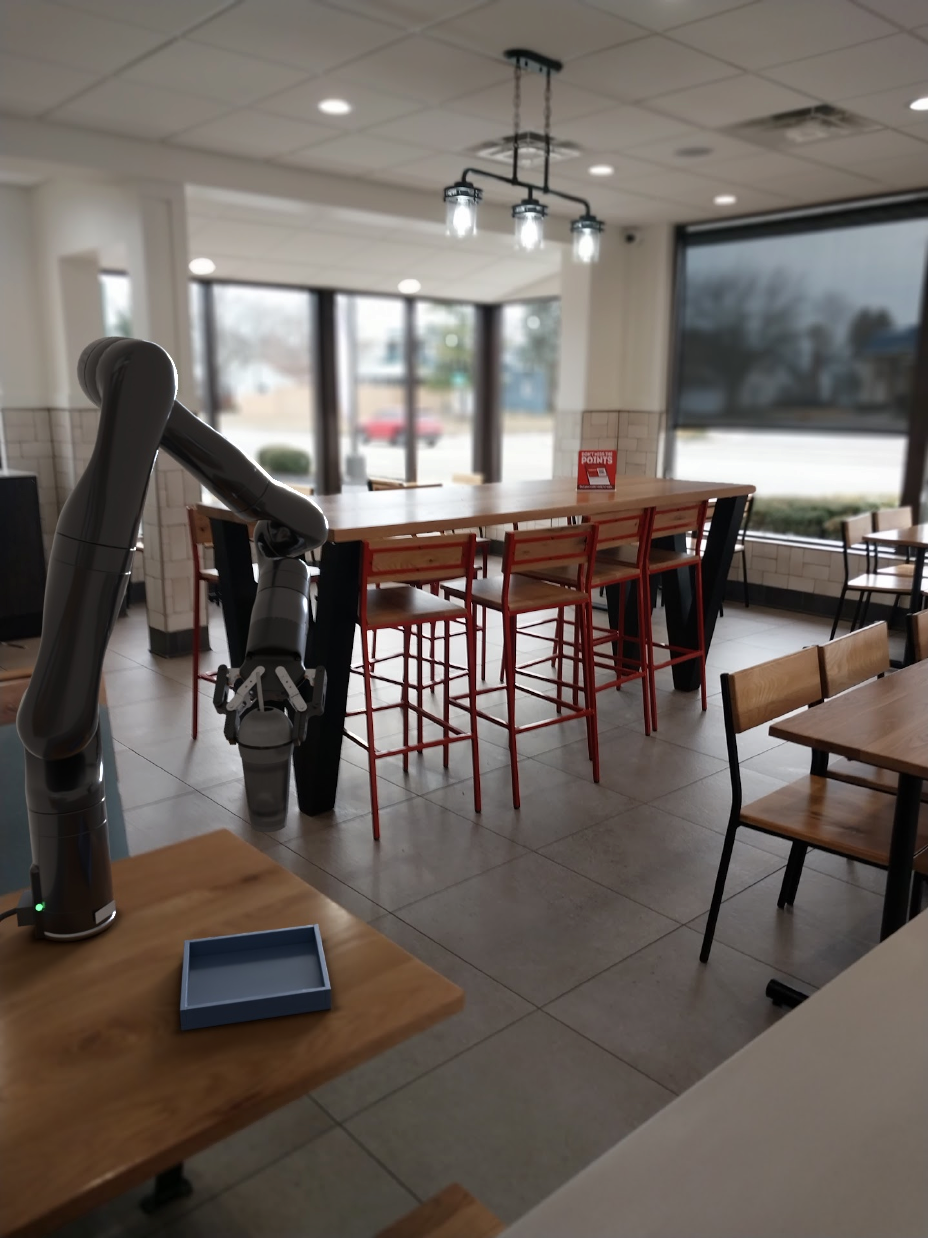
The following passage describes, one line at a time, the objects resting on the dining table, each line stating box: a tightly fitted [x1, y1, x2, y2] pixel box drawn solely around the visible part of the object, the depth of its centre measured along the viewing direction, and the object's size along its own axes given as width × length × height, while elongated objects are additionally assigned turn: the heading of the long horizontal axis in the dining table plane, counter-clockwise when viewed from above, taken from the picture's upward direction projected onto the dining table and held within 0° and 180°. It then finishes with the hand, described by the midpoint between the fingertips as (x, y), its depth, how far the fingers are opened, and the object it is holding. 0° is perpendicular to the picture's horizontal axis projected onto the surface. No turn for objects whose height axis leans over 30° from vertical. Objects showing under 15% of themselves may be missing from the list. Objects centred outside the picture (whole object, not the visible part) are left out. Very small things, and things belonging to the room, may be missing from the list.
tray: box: [179, 923, 332, 1031], centre depth 111 cm, size 16×14×2 cm
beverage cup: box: [236, 672, 295, 833], centre depth 118 cm, size 7×7×20 cm
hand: (264, 742), depth 117 cm, fingers closed on beverage cup, 7 cm apart
